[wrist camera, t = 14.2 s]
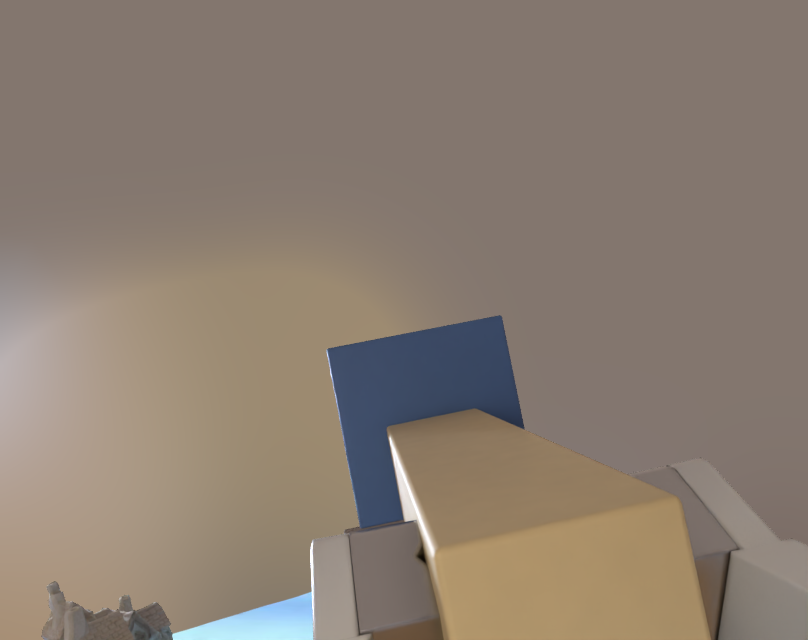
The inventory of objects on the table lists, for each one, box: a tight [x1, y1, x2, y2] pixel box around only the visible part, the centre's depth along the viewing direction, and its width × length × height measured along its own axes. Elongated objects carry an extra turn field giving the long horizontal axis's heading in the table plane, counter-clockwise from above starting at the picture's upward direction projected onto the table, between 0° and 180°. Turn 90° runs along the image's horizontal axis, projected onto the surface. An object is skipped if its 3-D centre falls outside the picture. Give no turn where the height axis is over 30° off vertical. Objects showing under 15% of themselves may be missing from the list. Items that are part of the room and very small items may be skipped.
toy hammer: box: [327, 315, 711, 640], centre depth 15 cm, size 18×5×5 cm, turn 4°
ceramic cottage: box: [42, 581, 173, 640], centre depth 75 cm, size 16×16×15 cm
